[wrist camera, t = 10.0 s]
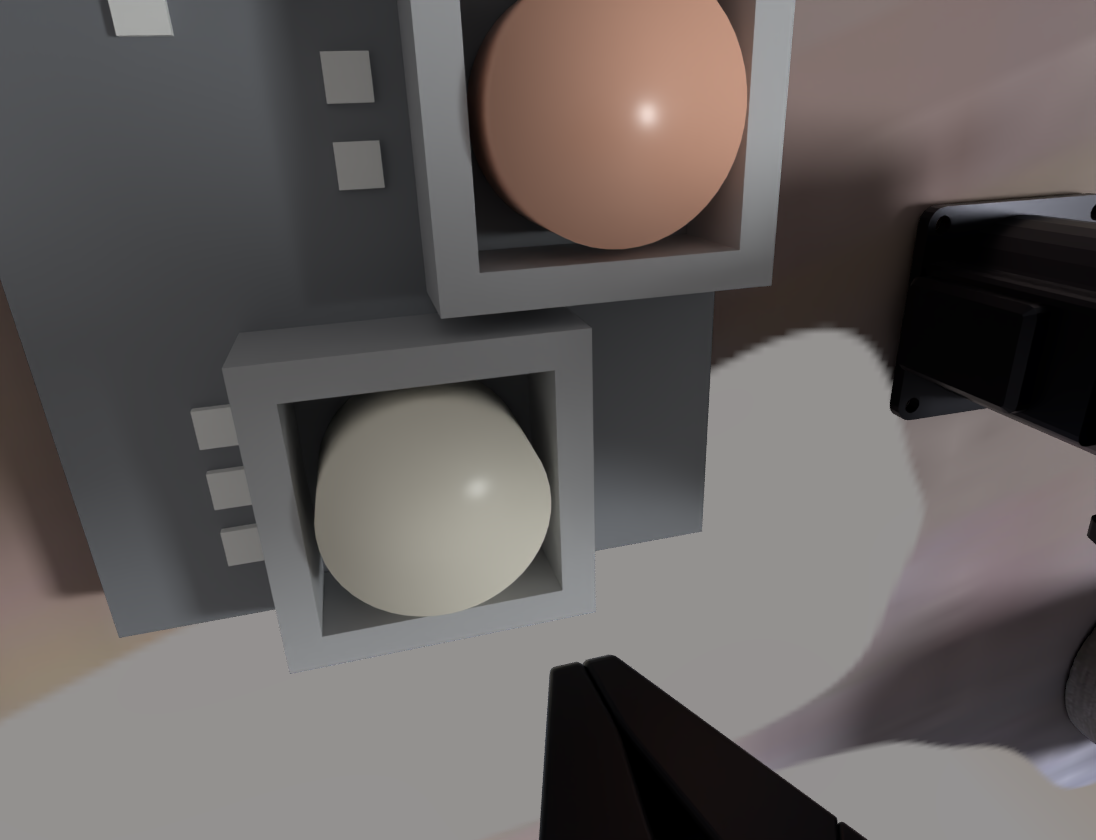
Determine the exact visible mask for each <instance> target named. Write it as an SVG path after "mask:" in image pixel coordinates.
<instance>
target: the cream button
mask: <svg viewBox="0 0 1096 840" xmlns="http://www.w3.org/2000/svg"><path fill="white" fill-rule="evenodd" d="M550 514H551V493H550V485H549V482H548V478H547V474H546V472H545V469H544V467H543V465H542V463H541V461H540V459H539V457H538V456H537V454H536V452H535V451H534V449H533V447H532V446H531V444H530V442H529V441H528V439H527V437H526V436H525V434H524V432H523V431H522V429H521V427H520V426H519V424H518V422H517V421H516V419H515V417H514V416H513V414H512V413H511V411H510V409H509V408H508V406H507V405H506V404H505V403H504V402H503V401H502V399H501V398H500V397H499V396H498V395H496V394H495V393H494V392H493V391H492V390H491V389H489V388H488V387H486V386H485V385H483V384H482V383H480V382H478V381H476V380H471V381H463V382H455V383H447V384H438V385H430V386H422V387H414V388H405V389H397V390H389V391H381V392H373V393H364V394H356V395H353V396H352V397H351V398H349V400H348V401H347V402H346V403H345V404H344V405H343V406H342V407H341V408H340V409H339V410H338V412H337V413H336V415H335V416H334V417H333V419H332V420H331V422H330V424H329V426H328V428H327V430H326V431H325V434H324V437H323V440H322V443H321V446H320V451H319V456H318V471H317V486H316V502H315V519H314V526H315V535H316V541H317V544H318V548H319V552H320V554H321V556H322V558H323V560H324V563H325V565H326V566H327V568H328V569H329V571H330V572H331V574H332V575H333V577H334V578H335V579H336V580H337V581H338V582H339V583H340V584H341V586H343V587H344V588H345V589H346V590H347V591H348V592H350V593H351V594H352V595H353V596H355V597H357V598H358V599H360V600H361V601H363V602H365V603H367V604H369V605H371V606H373V607H375V608H378V609H381V610H384V611H387V612H390V613H395V614H400V615H406V616H419V617H421V616H438V615H445V614H451V613H455V612H459V611H463V610H465V609H468V608H471V607H474V606H476V605H478V604H481V603H483V602H485V601H487V600H489V599H490V598H492V597H494V596H495V595H497V594H498V593H500V592H502V591H503V590H504V589H505V588H507V587H508V586H509V585H511V584H512V583H513V582H514V581H515V580H516V579H517V578H518V577H519V576H520V575H521V574H522V573H523V572H524V571H525V570H526V568H527V567H528V566H529V565H530V563H531V562H532V561H533V559H534V557H535V556H536V554H537V553H538V551H539V549H540V547H541V545H542V543H543V540H544V538H545V535H546V532H547V529H548V526H549V520H550Z"/></svg>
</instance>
